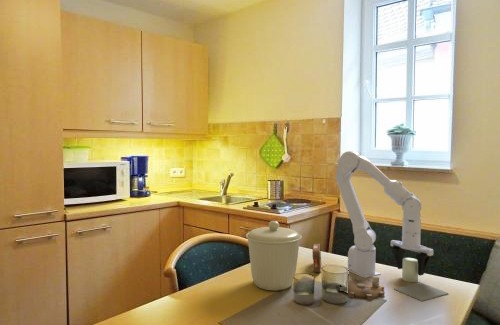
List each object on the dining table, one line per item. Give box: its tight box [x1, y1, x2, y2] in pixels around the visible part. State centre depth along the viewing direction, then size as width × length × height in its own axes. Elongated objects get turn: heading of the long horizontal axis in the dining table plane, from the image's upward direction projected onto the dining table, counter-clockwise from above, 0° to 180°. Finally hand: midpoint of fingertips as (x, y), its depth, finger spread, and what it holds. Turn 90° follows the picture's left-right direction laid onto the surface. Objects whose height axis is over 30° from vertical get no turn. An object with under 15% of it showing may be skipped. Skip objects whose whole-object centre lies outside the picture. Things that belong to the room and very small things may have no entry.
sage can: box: [401, 257, 419, 283], centre depth 126 cm, size 5×5×7 cm
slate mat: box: [394, 281, 449, 302], centre depth 116 cm, size 10×12×1 cm
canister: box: [245, 220, 303, 291], centre depth 121 cm, size 18×18×21 cm
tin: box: [312, 243, 322, 273], centre depth 138 cm, size 15×3×8 cm, turn 168°
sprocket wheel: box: [347, 275, 385, 301], centre depth 116 cm, size 14×14×4 cm
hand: (410, 271), depth 126 cm, fingers open, 7 cm apart
